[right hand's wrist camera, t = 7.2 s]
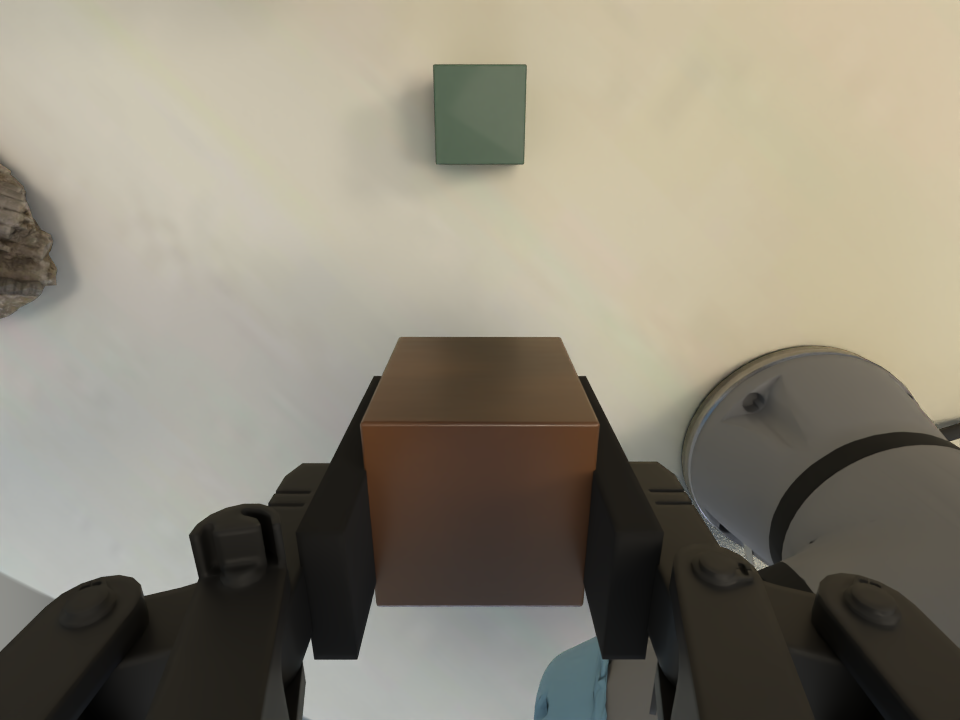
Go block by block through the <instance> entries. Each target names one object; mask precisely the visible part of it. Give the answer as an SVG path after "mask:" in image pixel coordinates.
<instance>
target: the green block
mask: <svg viewBox="0 0 960 720" xmlns="http://www.w3.org/2000/svg"><path fill="white" fill-rule="evenodd" d="M526 71H527V66H526V65H433V77H434V114H435V150H436V164H442V165H518V164H524V144H525V107H526Z"/></svg>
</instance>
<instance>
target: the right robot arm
mask: <svg viewBox="0 0 960 720" xmlns="http://www.w3.org/2000/svg"><path fill="white" fill-rule="evenodd" d="M381 377H382V376H374V377H373V379H372V381H371V383H370V385H369V387H368V389H367V391H366V393H365V395H364V397H363V399H362V401H361V403H360V405H359V407H358V409H357V411H356V413H355V415H354V417H353V419H352V421H351V423H350V425H349V427H348V429H347V431H346V433H345V435H344V437H343V439H342V441H341V443H340V445H339V447H338V449H337V451H336V453H335V455H334V457H333V459H332V461H331V463H302V464H301V465H300V466H298V467H297V468H296V469H294V470H293V471H292V472H290V473H289V474H288V475H286V476H285V478H284V479H283V481H282V482H281V484H280V486H279V487H278V489H277V490H276V494H274V495H273V497H272V498H271V500H270V501H269V503H268V506H266V505H262V504H241V505H236V506H232V507H228V508H225V509H223V510H220V511H218V512H216V513H213V514H211V515H209V516H208V517H207V518H205V519H204V520H202V521H201V522H200V523H198V524H197V525H196V526H195V528H194V529H193V530H192V532H191V533H190V534H189V538H190V542H191V546H192V551H193V555H194V559H195V563H196V568H197V572H198V576H199V579H198V582H197V583H195V584H191V585H188V586H185V587H181V588H177V589H173V590H168V591H164V592H160V593H155V594H151V595H147V596H144V595H143V591H142V588H141V585H140V584H139V583H138V582H137V581H136V580H135V579H134V578H132V577H127V576H122V575H115V576H106V577H100V578H97V579H94V580H91V581H88V582H85V583H82V584H80V585H78V586H76V587H74V588H72V589H70V590H69V591H67V592H65V593H63V594H61V595H60V596H59V597H58V598H56V599H55V600H54V601H53V602H51V603H50V604H49V605H47V606H46V607H45V608H44V609H43V610H42V611H41V612H40V613H39V614H38V615H37V616H36V617H35V618H34V619H33V620H32V621H31V622H30V623H29V624H28V625H27V626H26V627H25V628H24V629H23V630H22V631H21V632H20V633H19V634H18V635H17V636H16V637H15V638H14V639H13V640H12V641H11V642H10V643H9V644H8V645H7V646H6V647H5V648H4V649H3V650H2V651H1V652H0V720H302V716H303V705H304V695H305V685H306V681H305V674H304V667H303V658H304V656H305V653H306V650H307V647H308V644H309V642H310V639H311V640H312V647H313V654H314V660H357V659H358V655H359V651H360V647H361V643H362V638H363V634H364V630H365V626H366V622H367V618H368V614H369V610H370V606H371V602H372V598H373V594H374V590H375V586H376V573H375V562H374V551H373V540H372V529H371V518H370V507H369V496H368V485H367V474H366V470H364V463H363V452H362V441H361V430H360V424H361V421H362V419H363V417H364V414H365V412H366V410H367V408H368V406H369V403H370V401H371V399H372V397H373V395H374V392H375V390H376V388H377V386H378V383H379V381H380V379H381ZM578 377H579V380H580V382H581V384H582V386H583V388H584V391H585V393H586V395H587V397H588V400H589V402H590V404H591V406H592V408H593V411H594V413H595V415H596V417H597V419H598V422H599V424H600V429H599V439H598V450H597V461H596V469H595V470H594V471H593V480H592V491H591V503H590V514H589V525H588V536H587V547H586V558H585V569H584V580H583V583H584V587H585V591H586V596H587V600H588V604H589V608H590V612H591V616H592V620H593V624H594V628H595V632H596V637H594V638H592V639H590V640H588V641H586V642H583V643H581V644H579V645H577V646H575V647H573V648H571V649H568V650H566V651H564V652H562V653H561V654H559V655H558V656H557V657H556V658H554V659H553V661H552V662H551V663H550V664H549V666H548V667H547V669H546V670H545V672H544V674H543V676H542V679H541V682H540V685H539V689H538V692H537V697H536V703H535V713H534V720H960V448H959V447H957V446H956V445H954V444H953V443H951V442H949V441H952V440H956V439H959V438H960V423H958V424H955V425H952V426H949V427H946V428H942V429H938V428H937V427H936V426H935V424H934V423H933V422H932V421H931V420H930V419H929V417H928V416H927V415H926V414H925V413H924V412H923V410H922V409H921V408H920V407H919V405H918V403H917V402H916V401H915V399H914V397H913V396H912V394H911V393H910V392H909V390H908V389H907V388H906V387H905V386H904V385H903V384H902V383H901V382H900V381H899V380H898V379H897V378H896V377H894V376H893V375H892V374H891V373H890V372H888V371H887V370H885V369H884V368H882V367H881V366H879V365H877V364H875V363H873V362H871V361H869V360H867V359H865V358H863V357H861V356H859V355H857V354H855V353H852V352H849V351H846V350H842V349H838V348H833V347H826V346H802V347H795V348H789V349H785V350H780V351H777V352H774V353H771V354H768V355H765V356H763V357H760V358H758V359H756V360H754V361H752V362H750V363H748V364H746V365H744V366H743V367H741V368H739V369H738V370H736V371H735V372H733V373H732V374H731V375H729V376H728V377H727V378H725V379H724V380H723V381H722V382H721V383H720V384H719V385H717V387H716V388H715V389H714V390H713V391H712V392H711V393H710V394H709V395H708V396H707V397H706V399H705V400H704V401H703V402H702V404H701V405H700V407H699V408H698V410H697V411H696V413H695V415H694V417H693V419H692V421H691V423H690V425H689V427H688V430H687V433H686V436H685V440H684V445H683V451H682V469H683V476H684V479H685V483H686V486H687V488H688V491H689V493H690V495H691V496H692V498H693V500H694V501H695V503H696V504H697V506H698V508H699V509H700V511H701V512H702V513H703V515H704V516H705V518H706V519H707V520H708V521H709V522H710V523H711V524H712V525H713V526H714V527H715V528H716V529H717V530H718V531H720V532H721V533H722V534H723V535H724V536H726V537H727V538H729V539H730V540H732V541H733V542H735V543H737V544H738V545H740V546H742V547H744V549H745V555H746V559H747V560H748V561H747V560H746V559H744V558H743V557H742V556H741V555H739V554H737V553H735V552H733V551H731V550H728V549H726V548H724V547H720V546H719V544H718V543H717V541H716V540H715V538H714V536H713V535H712V533H711V532H710V530H709V528H708V527H707V525H706V524H705V522H704V521H703V519H702V517H701V516H700V514H699V513H698V511H697V509H696V508H695V506H694V505H692V501H691V500H690V498H689V497H688V495H687V494H686V492H684V489H683V487H682V486H681V484H680V482H679V481H678V479H677V478H676V476H675V474H673V473H672V472H670V471H669V470H668V469H666V468H665V467H664V466H662V465H661V464H660V463H658V462H629V461H628V459H627V457H626V455H625V453H624V451H623V449H622V447H621V445H620V443H619V441H618V439H617V437H616V435H615V433H614V431H613V429H612V427H611V425H610V423H609V421H608V419H607V418H606V416H605V414H604V412H603V410H602V408H601V406H600V404H599V402H598V400H597V398H596V396H595V394H594V392H593V390H592V388H591V386H590V384H589V382H588V380H587V378H586V376H578ZM753 555H754V556H755V557H757V558H758V559H759V560H761V561H762V562H764V563H765V564H767V565H768V567H766V568H764V569H761V570H759V571H757V570H756V569H755V567H754V562H753Z"/></svg>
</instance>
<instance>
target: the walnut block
mask: <svg viewBox="0 0 960 720" xmlns="http://www.w3.org/2000/svg"><path fill="white" fill-rule="evenodd" d="M599 429H600V424H599V422H598V419H597V417H596V415H595V413H594V411H593V408H592V406H591V404H590V402H589V400H588V397H587V395H586V393H585V391H584V388H583V386H582V384H581V382H580V380H579V377H578V375H577V373H576V371H575V369H574V366H573V364H572V362H571V360H570V358H569V355H568V353H567V351H566V349H565V346H564V344H563V342H562V340H561V338H559V337H400V338H399V339H398V341H397V344H396V346H395V348H394V350H393V353H392V355H391V357H390V359H389V361H388V364H387V366H386V368H385V370H384V372H383V375H382V377H381V379H380V381H379V383H378V386H377V388H376V390H375V392H374V395H373V397H372V399H371V401H370V403H369V406H368V408H367V410H366V412H365V414H364V417H363V419H362V421H361V424H360V430H361V441H362V452H363V463H364V470H366V474H367V485H368V496H369V507H370V518H371V529H372V540H373V551H374V562H375V573H376V586H375V595H376V604H377V606H380V607H580V606H582V605H583V600H584V589H585V587H584V583H583V580H584V569H585V558H586V547H587V536H588V525H589V514H590V503H591V491H592V480H593V471H594V470H595V469H596V461H597V450H598V439H599Z"/></svg>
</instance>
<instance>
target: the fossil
mask: <svg viewBox="0 0 960 720" xmlns="http://www.w3.org/2000/svg"><path fill="white" fill-rule="evenodd" d="M25 196H26V192H25V191H24V187H23V186H22V185H21V184H20V183H19V182H18V181H17V180H16V179H15V178H14V177H13V176H12V175H11V171H10V170H9V169H7V168H6V167H4V166H3V165H1V164H0V318H3V317H7V316H9V315H11V314H12V313H14V312H15V311H17V310H18V309H19V308H20V307H22V306H24V305H26V304H28V303H30V302H32V301H33V300H35V299H36V298H37V297H38V296H40V295H41V293H42V291H43V288H44V287H45V286H50V285H56V273H57V268H56V266H55V264H54V263H53V261H52V260H51V258H50V256H49V252H50V251H51V247H52V244H53V240H52V237H51V235H50V234H48V233H46V232H44V231H42V230H41V229H40V228H39V226H38V224H37V223H36V221H35V220H34V219H33V218H32V214H31V211H30V208H29V206H28V204H27V202H26V199H25Z"/></svg>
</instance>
